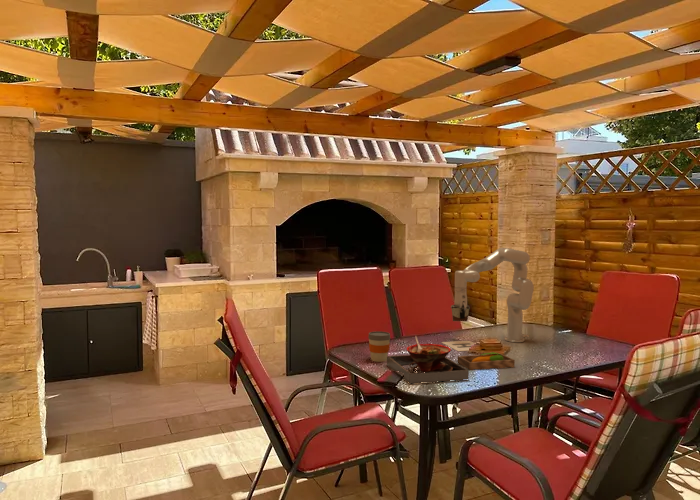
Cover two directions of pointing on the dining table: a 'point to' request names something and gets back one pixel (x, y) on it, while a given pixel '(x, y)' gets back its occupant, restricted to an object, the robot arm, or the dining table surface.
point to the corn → (488, 357)
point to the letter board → (459, 345)
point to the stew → (429, 357)
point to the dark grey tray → (454, 374)
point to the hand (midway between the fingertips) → (460, 317)
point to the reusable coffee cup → (379, 345)
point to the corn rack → (484, 362)
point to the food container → (457, 311)
